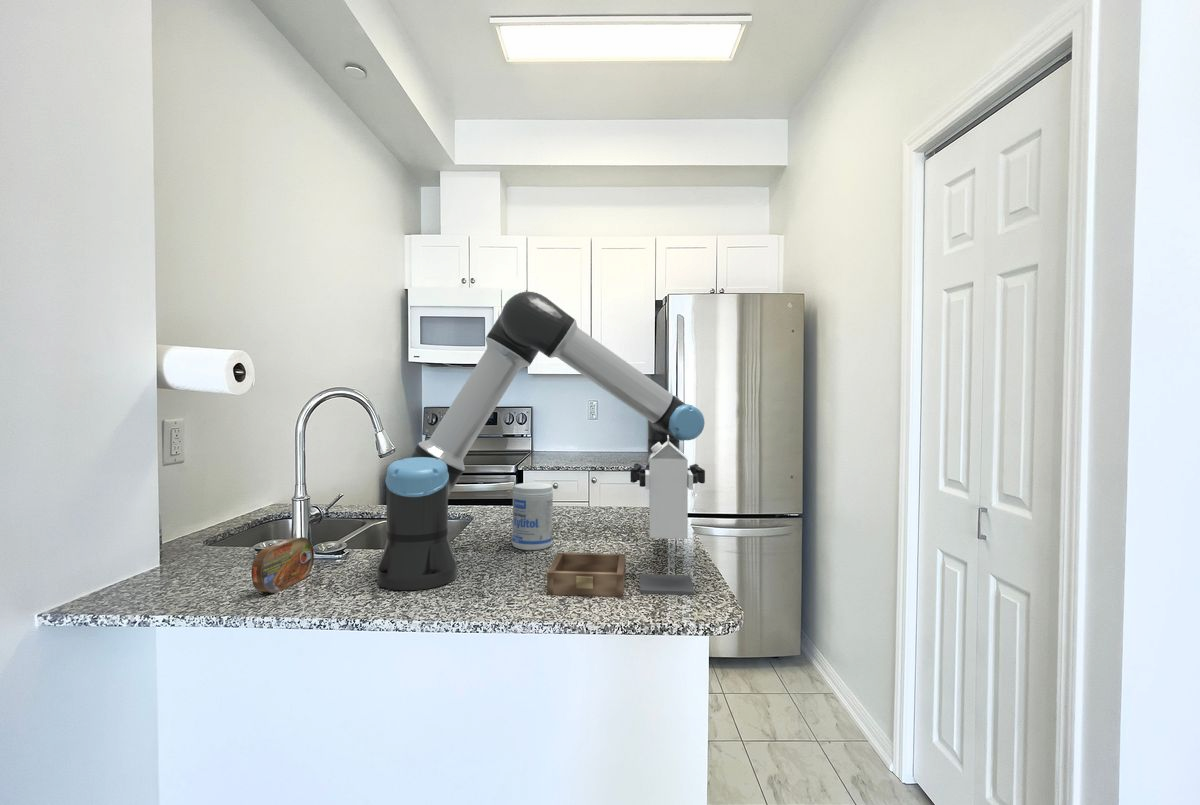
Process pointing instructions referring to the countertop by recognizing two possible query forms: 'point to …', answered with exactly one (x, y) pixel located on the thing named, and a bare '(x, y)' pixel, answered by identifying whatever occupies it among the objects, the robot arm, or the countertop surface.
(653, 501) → the milk carton
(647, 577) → the rubber mat
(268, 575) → the tin
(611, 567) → the wooden square frame
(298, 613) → the countertop surface
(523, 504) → the supplement tub
